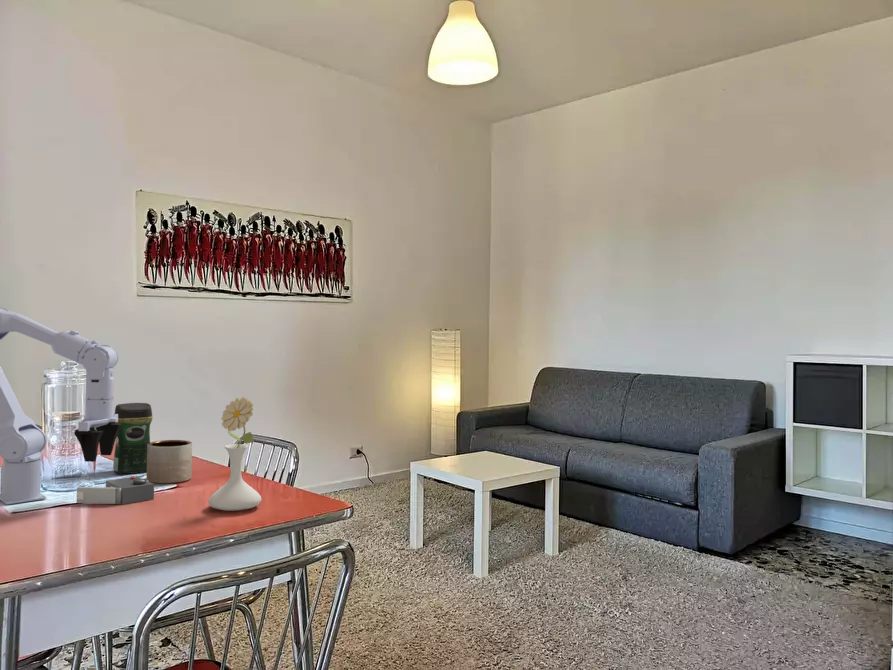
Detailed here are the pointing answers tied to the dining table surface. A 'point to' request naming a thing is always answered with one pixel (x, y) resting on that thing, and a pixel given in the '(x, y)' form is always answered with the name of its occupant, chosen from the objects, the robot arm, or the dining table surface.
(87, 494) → the side door
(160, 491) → the dining table surface
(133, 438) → the coffee jar
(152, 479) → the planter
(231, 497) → the flower in vase
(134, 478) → the grey switch box
